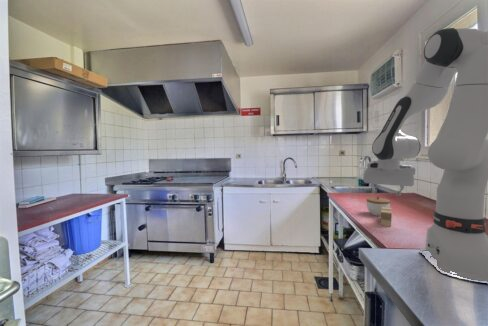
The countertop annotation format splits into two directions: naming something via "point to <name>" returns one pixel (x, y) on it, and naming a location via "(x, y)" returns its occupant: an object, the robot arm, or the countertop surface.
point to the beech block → (386, 216)
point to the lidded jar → (377, 205)
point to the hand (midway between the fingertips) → (386, 194)
